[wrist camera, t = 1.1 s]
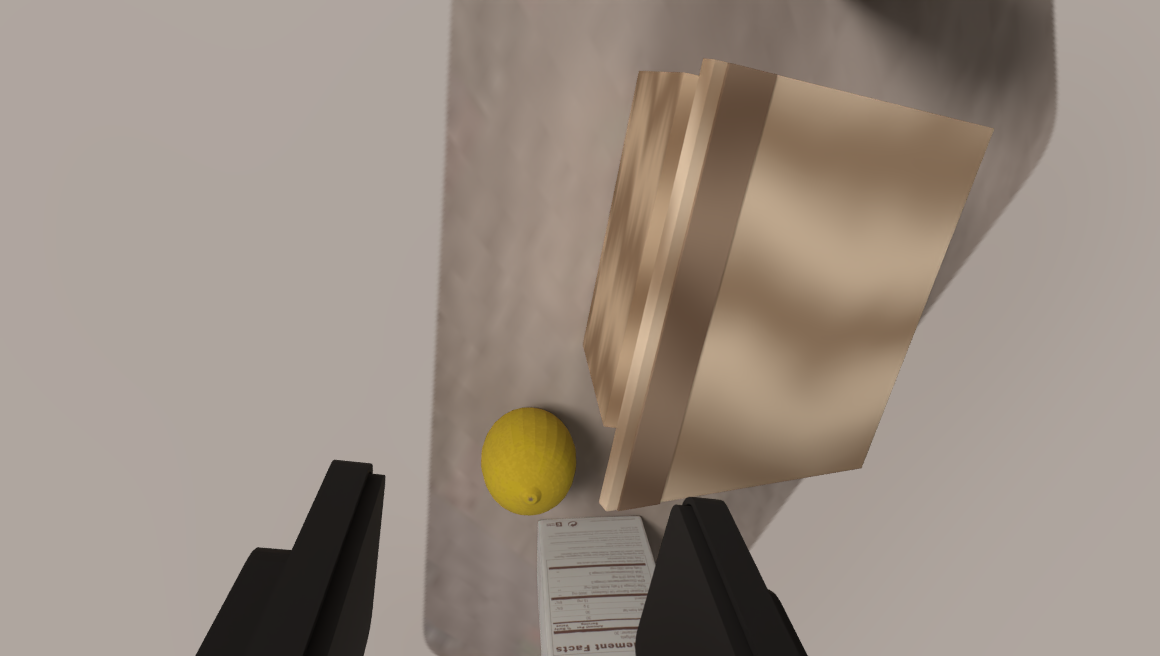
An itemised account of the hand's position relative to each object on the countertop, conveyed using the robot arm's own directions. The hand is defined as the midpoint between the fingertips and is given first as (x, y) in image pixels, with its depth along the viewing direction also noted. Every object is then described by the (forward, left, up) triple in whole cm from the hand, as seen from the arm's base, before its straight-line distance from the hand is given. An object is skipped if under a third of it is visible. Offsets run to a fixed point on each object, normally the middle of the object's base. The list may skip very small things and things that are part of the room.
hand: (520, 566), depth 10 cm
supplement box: (+24, +9, -30) cm, 39 cm away
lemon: (+14, +3, -30) cm, 33 cm away
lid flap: (0, +12, -16) cm, 20 cm away
